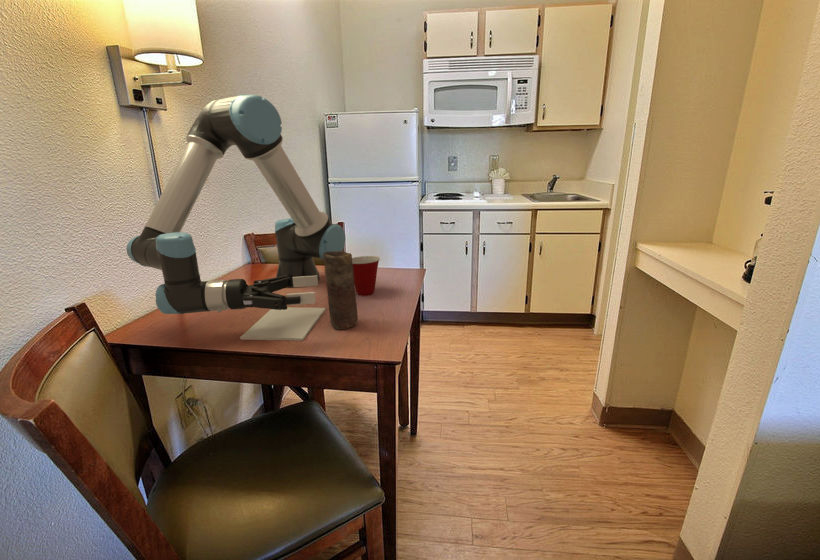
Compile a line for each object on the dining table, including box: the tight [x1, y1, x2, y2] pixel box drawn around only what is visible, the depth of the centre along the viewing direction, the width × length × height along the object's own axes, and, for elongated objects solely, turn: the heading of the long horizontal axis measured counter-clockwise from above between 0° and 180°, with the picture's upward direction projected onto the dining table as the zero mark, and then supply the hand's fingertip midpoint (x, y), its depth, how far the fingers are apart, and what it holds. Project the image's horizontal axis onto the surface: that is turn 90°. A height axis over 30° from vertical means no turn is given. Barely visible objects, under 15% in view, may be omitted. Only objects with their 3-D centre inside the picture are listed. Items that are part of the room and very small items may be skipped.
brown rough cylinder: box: [323, 250, 359, 330], centre depth 101 cm, size 8×7×20 cm
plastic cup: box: [352, 255, 381, 297], centre depth 126 cm, size 11×11×12 cm
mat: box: [239, 306, 327, 342], centre depth 105 cm, size 20×16×1 cm
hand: (316, 288), depth 99 cm, fingers open, 13 cm apart
